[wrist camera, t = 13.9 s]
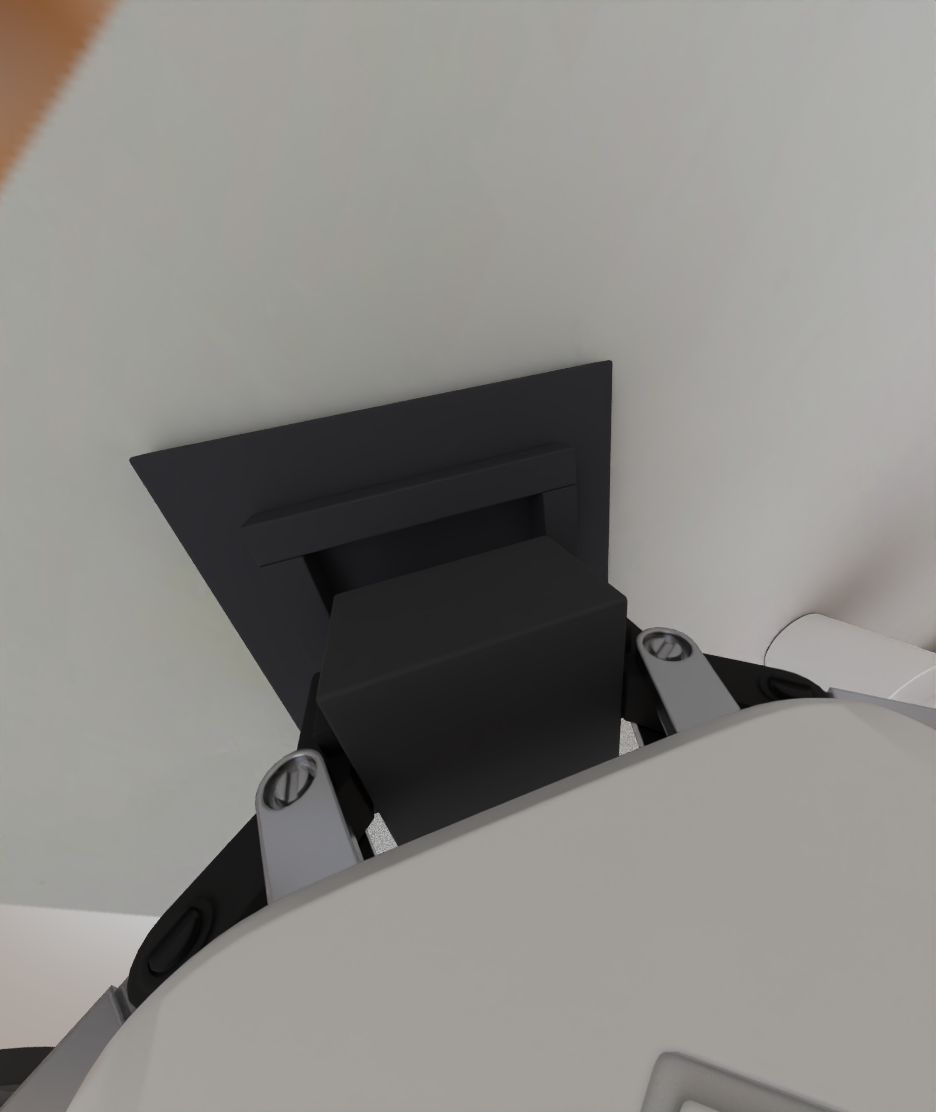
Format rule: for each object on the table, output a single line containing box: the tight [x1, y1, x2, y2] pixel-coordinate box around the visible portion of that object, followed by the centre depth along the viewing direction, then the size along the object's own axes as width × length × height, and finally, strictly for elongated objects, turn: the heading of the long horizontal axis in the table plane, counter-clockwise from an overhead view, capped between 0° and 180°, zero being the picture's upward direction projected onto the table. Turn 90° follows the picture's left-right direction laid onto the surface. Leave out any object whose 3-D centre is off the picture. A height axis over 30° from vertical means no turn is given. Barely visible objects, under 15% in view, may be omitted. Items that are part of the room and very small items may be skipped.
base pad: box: [129, 360, 612, 731], centre depth 13 cm, size 14×14×2 cm
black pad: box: [316, 536, 627, 846], centre depth 9 cm, size 6×6×4 cm
